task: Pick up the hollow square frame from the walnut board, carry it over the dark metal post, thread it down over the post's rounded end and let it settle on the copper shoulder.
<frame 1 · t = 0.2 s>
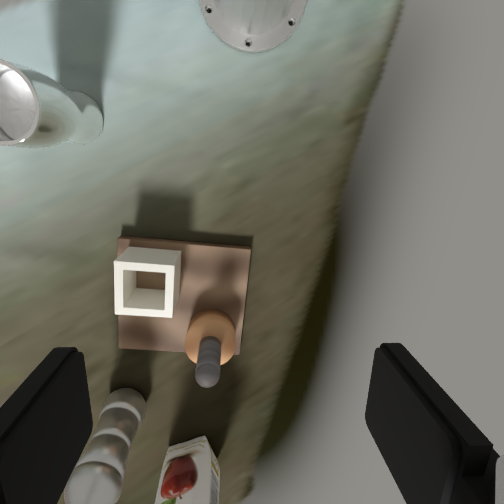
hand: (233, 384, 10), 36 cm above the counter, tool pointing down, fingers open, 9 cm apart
juice carton: (193, 451, 58), on the counter
plastic bottle: (129, 398, 54), on the counter
hollow square frame: (154, 272, 46), point 1 cm above the counter, touching post board
beer glass: (78, 118, 41), on the counter
post board: (183, 296, 49), on the counter
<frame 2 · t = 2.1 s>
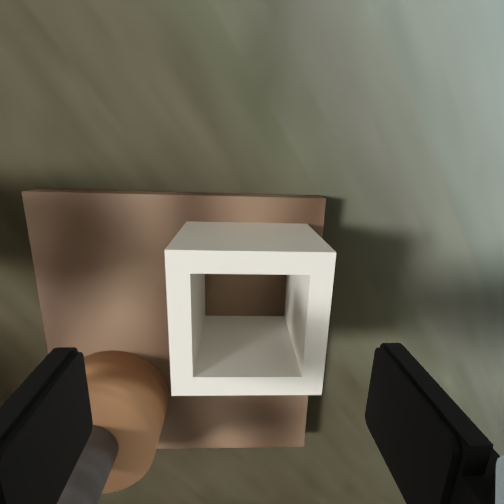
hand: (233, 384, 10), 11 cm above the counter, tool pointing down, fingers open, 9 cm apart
hollow square frame: (246, 278, 20), point 1 cm above the counter, touching post board
post board: (185, 325, 22), on the counter
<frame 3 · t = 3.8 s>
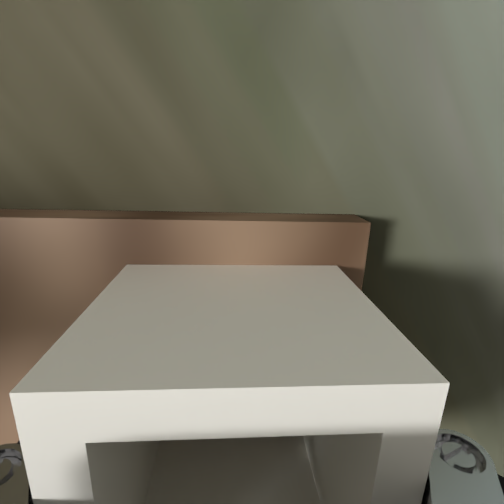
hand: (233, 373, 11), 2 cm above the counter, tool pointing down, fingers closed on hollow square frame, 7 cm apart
hollow square frame: (233, 355, 12), point 1 cm above the counter, touching gripper, post board
post board: (139, 416, 14), on the counter
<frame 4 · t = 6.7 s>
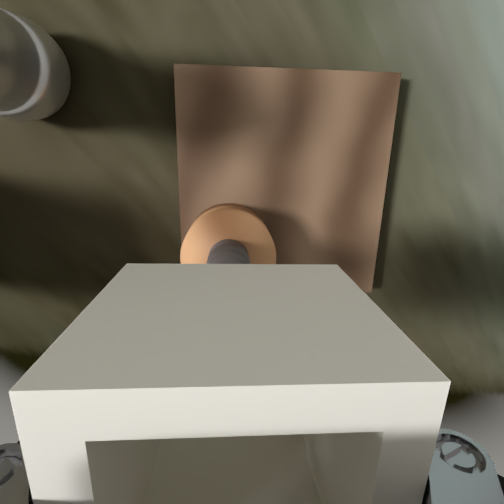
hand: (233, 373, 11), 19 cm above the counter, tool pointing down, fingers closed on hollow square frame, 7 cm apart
plastic bottle: (37, 78, 25), on the counter
hollow square frame: (233, 355, 12), point 18 cm above the counter, touching gripper
post board: (281, 189, 28), on the counter
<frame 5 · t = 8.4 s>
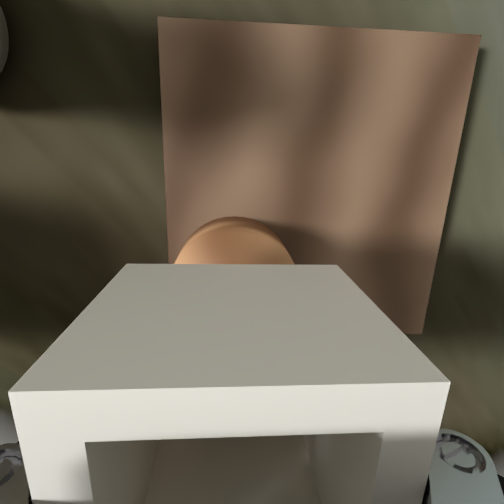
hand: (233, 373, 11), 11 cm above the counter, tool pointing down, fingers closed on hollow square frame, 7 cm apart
hollow square frame: (232, 355, 12), point 10 cm above the counter, touching gripper
post board: (305, 197, 21), on the counter
when the fingers open (9 cm above the counter, at t = 9.9 s): hollow square frame drops 3 cm, resting on post board.
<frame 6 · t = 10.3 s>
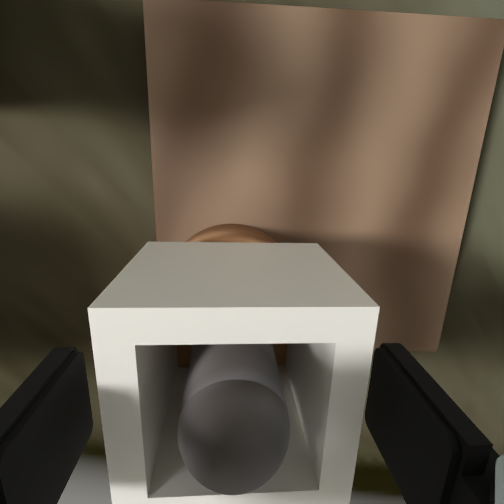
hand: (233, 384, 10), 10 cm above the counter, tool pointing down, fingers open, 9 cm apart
hollow square frame: (233, 318, 15), point 5 cm above the counter, touching post board
post board: (310, 202, 19), on the counter
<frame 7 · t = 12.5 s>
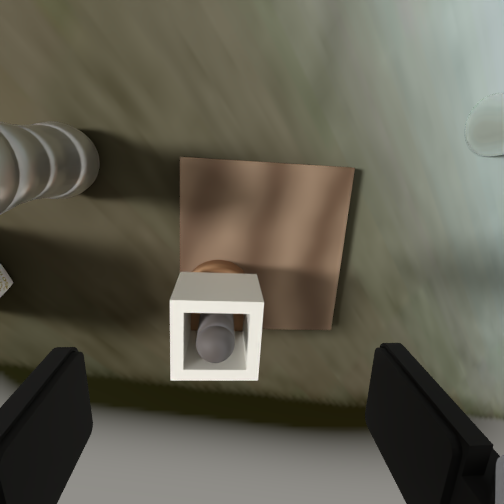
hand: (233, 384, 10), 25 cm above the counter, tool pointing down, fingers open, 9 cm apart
plastic bottle: (71, 160, 32), on the counter
hollow square frame: (217, 307, 31), point 5 cm above the counter, touching post board
beer glass: (491, 125, 34), on the counter
post board: (261, 248, 36), on the counter
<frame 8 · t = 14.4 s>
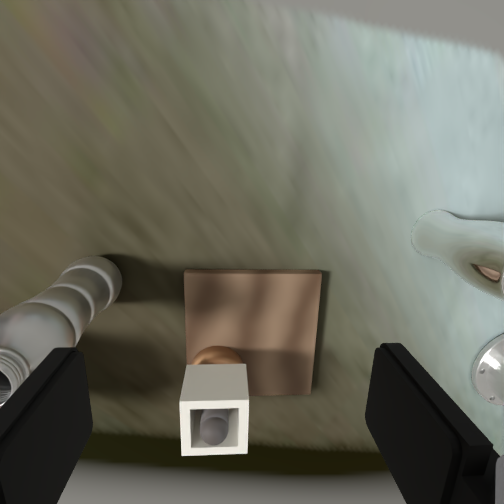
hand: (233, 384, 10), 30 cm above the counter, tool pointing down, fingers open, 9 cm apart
plastic bottle: (100, 276, 41), on the counter
hollow square frame: (216, 388, 40), point 5 cm above the counter, touching post board
beer glass: (432, 232, 42), on the counter
post board: (251, 332, 44), on the counter
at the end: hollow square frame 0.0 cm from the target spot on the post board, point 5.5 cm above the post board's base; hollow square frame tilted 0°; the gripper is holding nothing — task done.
